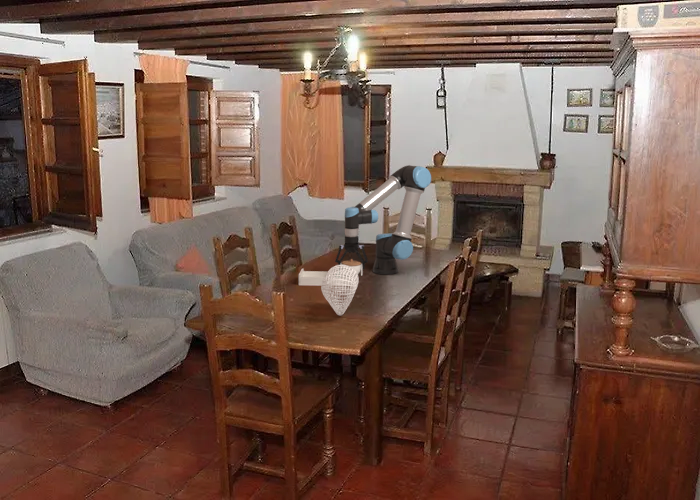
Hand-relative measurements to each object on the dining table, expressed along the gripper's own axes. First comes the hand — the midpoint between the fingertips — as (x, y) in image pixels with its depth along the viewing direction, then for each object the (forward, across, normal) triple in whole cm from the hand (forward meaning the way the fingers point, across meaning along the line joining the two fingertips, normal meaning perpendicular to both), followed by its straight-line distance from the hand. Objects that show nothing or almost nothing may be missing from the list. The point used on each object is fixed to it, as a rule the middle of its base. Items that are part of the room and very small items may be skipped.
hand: (351, 274), depth 362 cm
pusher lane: (+5, +13, 0) cm, 14 cm away
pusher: (+3, +8, 0) cm, 9 cm away
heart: (+5, +2, +62) cm, 62 cm away
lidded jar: (+1, 0, 0) cm, 1 cm away
